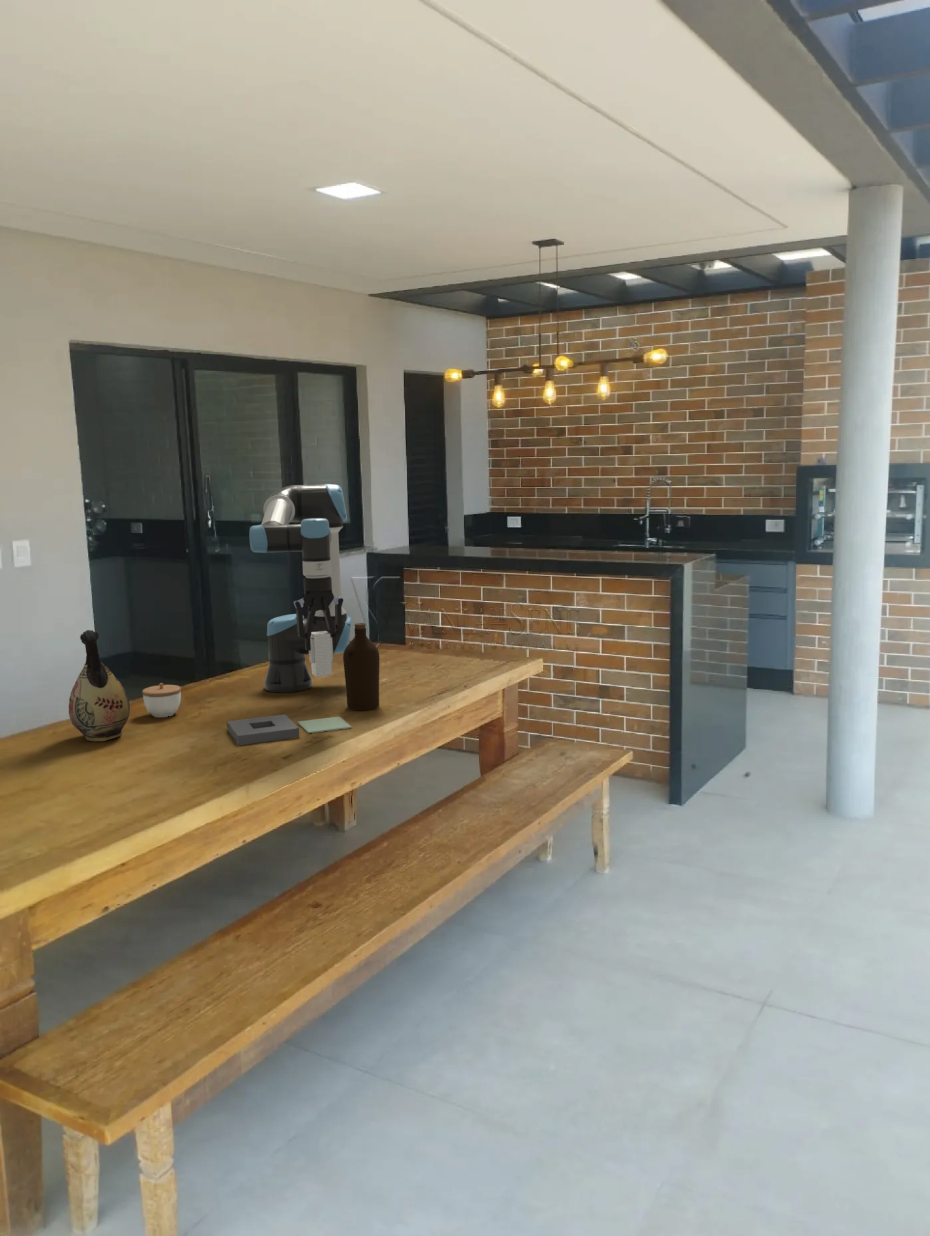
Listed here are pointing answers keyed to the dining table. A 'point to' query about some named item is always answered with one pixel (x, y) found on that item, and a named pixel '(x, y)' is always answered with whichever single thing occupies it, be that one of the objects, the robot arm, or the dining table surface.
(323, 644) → the metal peg
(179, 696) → the lidded jar
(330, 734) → the dining table surface
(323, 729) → the green mat
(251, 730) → the pocket block
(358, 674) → the olive oil
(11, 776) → the dining table surface
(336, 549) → the robot arm
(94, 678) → the ceramic jug
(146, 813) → the dining table surface
